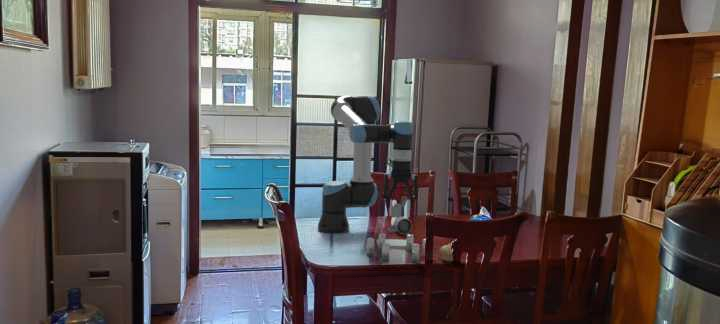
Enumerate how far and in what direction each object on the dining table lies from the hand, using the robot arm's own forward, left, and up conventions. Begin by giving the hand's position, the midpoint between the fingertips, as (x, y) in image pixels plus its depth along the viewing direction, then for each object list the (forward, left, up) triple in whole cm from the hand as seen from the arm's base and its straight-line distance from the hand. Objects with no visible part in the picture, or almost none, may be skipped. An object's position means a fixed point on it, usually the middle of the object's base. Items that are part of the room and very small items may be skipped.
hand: (399, 215), depth 220 cm
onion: (+20, -6, -17) cm, 27 cm away
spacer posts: (0, -1, -17) cm, 17 cm away
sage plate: (0, +15, -17) cm, 23 cm away
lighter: (0, 0, -1) cm, 1 cm away
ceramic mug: (+6, +38, -17) cm, 42 cm away
